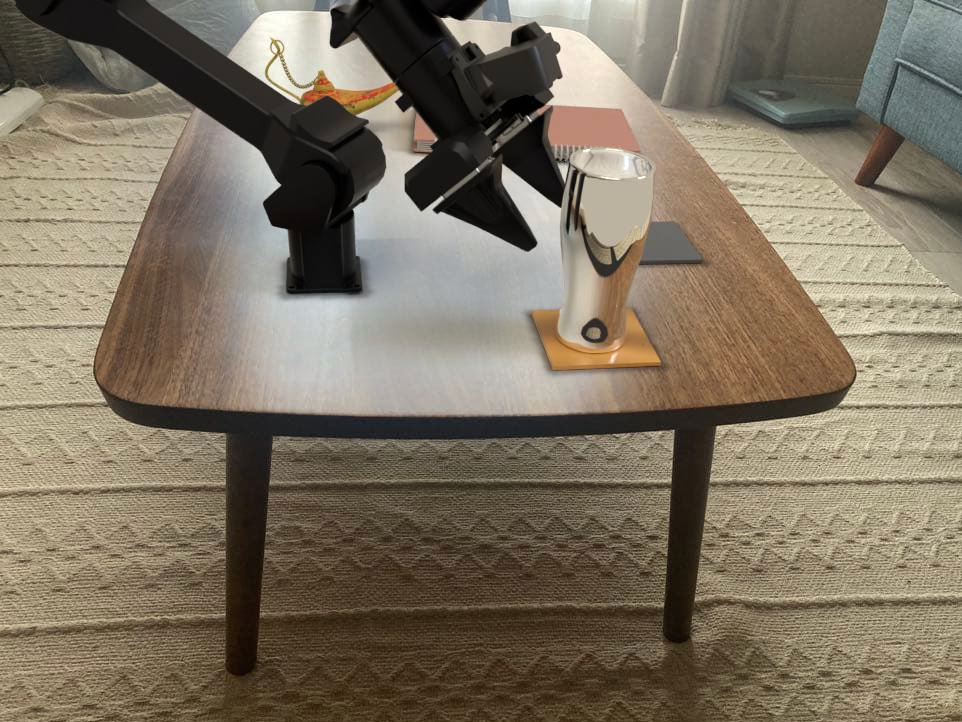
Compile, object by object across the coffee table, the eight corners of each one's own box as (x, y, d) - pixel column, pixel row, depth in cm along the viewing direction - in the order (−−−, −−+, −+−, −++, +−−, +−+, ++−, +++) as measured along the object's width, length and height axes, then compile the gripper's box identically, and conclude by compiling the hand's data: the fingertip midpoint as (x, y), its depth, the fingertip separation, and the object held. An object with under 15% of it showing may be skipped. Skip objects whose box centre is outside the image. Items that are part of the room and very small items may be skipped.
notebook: (413, 156, 110) (413, 139, 108) (417, 110, 123) (417, 95, 122) (640, 167, 112) (642, 151, 111) (619, 121, 126) (621, 106, 125)
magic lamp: (421, 143, 113) (422, 50, 107) (268, 141, 110) (259, 44, 103) (417, 124, 119) (418, 34, 112) (271, 122, 115) (263, 28, 109)
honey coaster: (660, 365, 76) (661, 361, 75) (552, 370, 74) (553, 366, 74) (630, 311, 83) (630, 307, 83) (531, 314, 81) (531, 310, 81)
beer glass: (531, 329, 78) (546, 156, 69) (590, 306, 82) (611, 140, 74) (590, 366, 74) (613, 187, 65) (648, 340, 78) (678, 168, 70)
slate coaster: (702, 263, 92) (702, 259, 92) (614, 264, 90) (615, 261, 90) (674, 224, 99) (674, 221, 99) (592, 225, 97) (592, 222, 97)
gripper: (450, 15, 58) (599, 216, 62) (539, -31, 73) (655, 133, 77) (340, 118, 64) (482, 294, 68) (443, 56, 79) (555, 204, 83)
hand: (550, 225), depth 74 cm, fingers open, 9 cm apart
